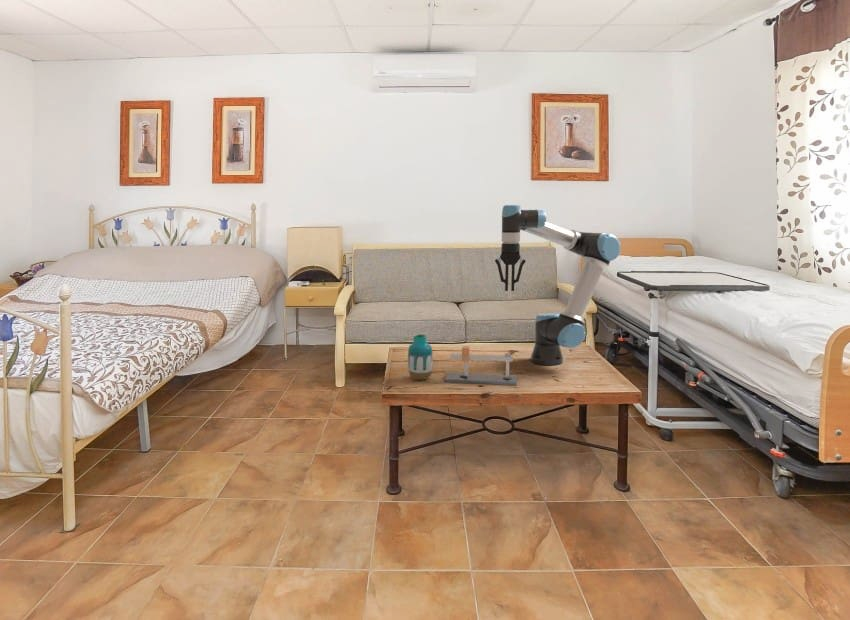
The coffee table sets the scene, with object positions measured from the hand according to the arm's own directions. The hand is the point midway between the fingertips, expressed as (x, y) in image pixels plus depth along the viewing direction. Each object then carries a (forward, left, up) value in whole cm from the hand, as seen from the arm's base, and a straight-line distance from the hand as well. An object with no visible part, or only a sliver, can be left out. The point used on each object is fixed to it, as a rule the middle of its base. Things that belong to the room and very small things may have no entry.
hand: (509, 298), depth 224 cm
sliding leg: (+18, +7, -33) cm, 38 cm away
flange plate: (+11, +7, -34) cm, 37 cm away
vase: (+37, +10, -35) cm, 52 cm away
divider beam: (+11, +7, -33) cm, 36 cm away
